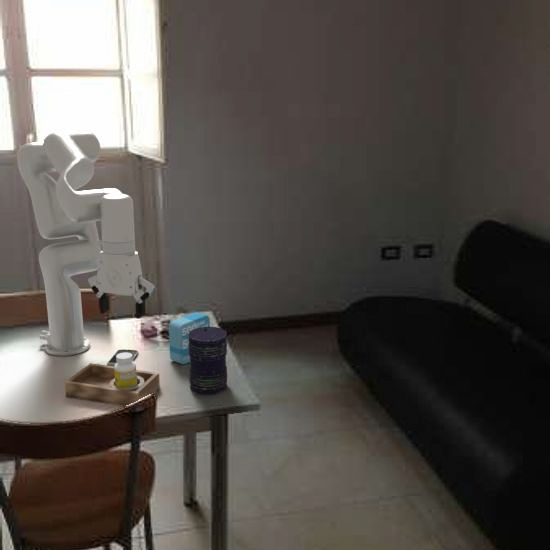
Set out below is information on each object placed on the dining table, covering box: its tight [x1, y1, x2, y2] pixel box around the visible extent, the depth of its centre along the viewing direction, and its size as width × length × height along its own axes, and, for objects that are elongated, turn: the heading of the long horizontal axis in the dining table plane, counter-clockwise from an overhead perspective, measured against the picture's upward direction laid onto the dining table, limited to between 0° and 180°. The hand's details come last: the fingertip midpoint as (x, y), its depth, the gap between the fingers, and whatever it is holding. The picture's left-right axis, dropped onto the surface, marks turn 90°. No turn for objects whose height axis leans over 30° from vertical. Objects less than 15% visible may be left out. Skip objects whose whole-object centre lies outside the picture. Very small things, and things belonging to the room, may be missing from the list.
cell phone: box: [106, 349, 139, 366], centre depth 187 cm, size 6×11×1 cm, turn 174°
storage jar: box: [188, 326, 228, 397], centre depth 170 cm, size 10×10×15 cm
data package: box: [168, 311, 211, 365], centre depth 188 cm, size 12×4×12 cm, turn 142°
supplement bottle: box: [114, 352, 137, 388], centre depth 166 cm, size 5×5×10 cm
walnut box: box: [64, 362, 161, 407], centre depth 168 cm, size 20×12×4 cm, turn 74°
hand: (122, 314), depth 161 cm, fingers open, 9 cm apart
